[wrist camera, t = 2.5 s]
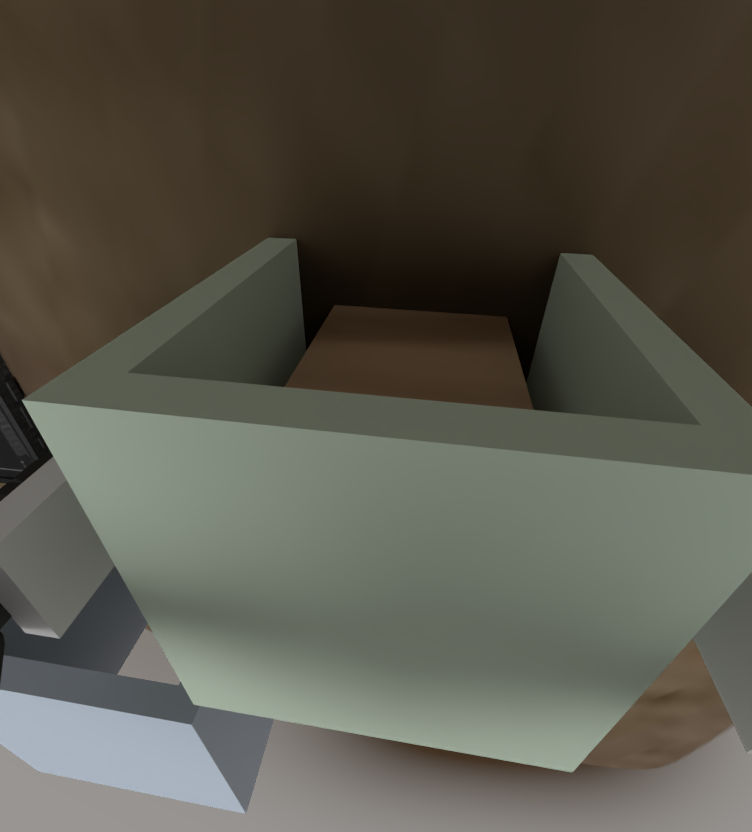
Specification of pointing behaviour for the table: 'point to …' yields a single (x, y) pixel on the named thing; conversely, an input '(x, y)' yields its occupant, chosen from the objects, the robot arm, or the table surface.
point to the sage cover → (411, 516)
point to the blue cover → (120, 713)
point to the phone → (16, 430)
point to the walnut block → (415, 357)
